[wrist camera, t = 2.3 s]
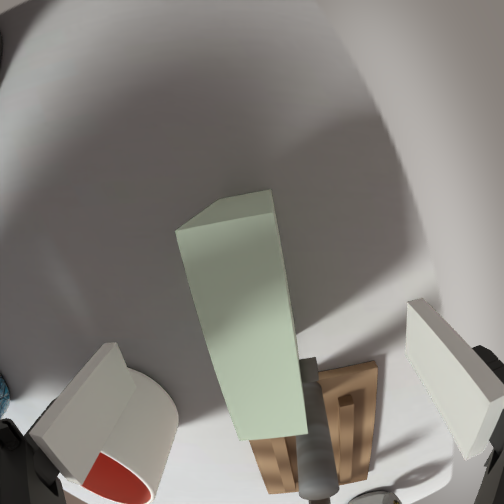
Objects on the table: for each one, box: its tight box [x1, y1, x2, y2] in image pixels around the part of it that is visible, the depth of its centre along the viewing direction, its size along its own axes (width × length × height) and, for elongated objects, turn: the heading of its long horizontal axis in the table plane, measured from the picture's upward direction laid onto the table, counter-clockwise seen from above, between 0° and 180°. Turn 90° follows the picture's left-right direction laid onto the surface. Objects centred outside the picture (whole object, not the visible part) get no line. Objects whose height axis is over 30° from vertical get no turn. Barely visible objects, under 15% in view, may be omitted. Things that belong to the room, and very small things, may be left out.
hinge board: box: [249, 361, 378, 504], centre depth 21 cm, size 19×12×11 cm, turn 11°
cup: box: [78, 368, 179, 504], centre depth 21 cm, size 10×10×10 cm
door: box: [175, 189, 319, 441], centre depth 17 cm, size 11×4×10 cm, turn 11°
